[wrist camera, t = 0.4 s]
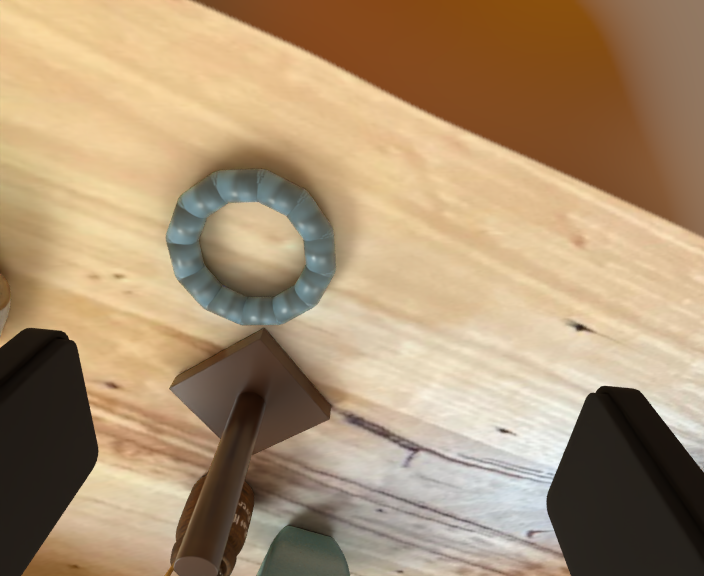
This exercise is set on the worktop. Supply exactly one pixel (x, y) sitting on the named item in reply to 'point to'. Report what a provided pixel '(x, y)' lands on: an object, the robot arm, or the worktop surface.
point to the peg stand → (240, 432)
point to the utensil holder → (236, 531)
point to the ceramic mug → (4, 301)
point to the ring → (275, 196)
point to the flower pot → (303, 555)
